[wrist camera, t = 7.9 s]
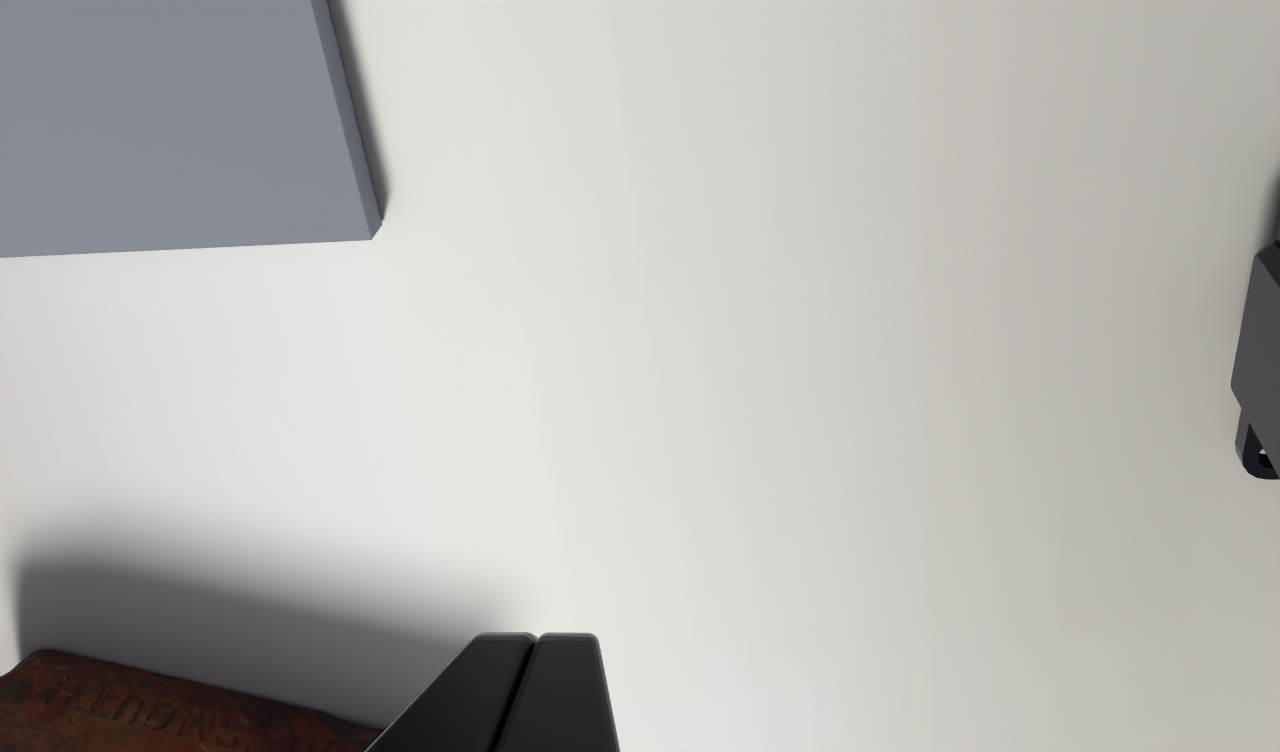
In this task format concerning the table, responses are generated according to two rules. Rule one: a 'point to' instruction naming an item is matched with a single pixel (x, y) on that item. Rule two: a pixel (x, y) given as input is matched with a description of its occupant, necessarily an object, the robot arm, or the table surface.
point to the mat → (176, 127)
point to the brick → (152, 714)
